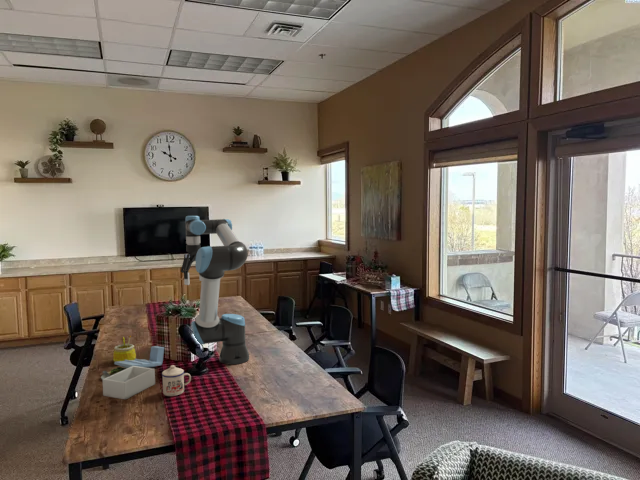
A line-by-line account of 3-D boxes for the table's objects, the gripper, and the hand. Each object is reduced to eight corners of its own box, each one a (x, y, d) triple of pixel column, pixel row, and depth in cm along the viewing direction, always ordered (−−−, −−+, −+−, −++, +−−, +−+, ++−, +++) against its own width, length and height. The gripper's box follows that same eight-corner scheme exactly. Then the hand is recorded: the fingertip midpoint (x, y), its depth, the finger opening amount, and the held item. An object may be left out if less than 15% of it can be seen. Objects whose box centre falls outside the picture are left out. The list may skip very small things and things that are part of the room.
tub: (155, 384, 218) (154, 368, 217) (125, 399, 201) (124, 382, 201) (133, 380, 222) (133, 365, 222) (103, 395, 206) (102, 379, 205)
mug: (128, 365, 243) (127, 342, 242) (108, 364, 245) (107, 341, 245) (142, 357, 256) (141, 335, 255) (123, 356, 258) (122, 334, 257)
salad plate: (88, 380, 224) (88, 370, 224) (119, 368, 241) (119, 359, 240) (119, 386, 216) (118, 376, 216) (149, 373, 232) (148, 364, 232)
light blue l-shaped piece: (167, 366, 244) (169, 348, 245) (131, 369, 225) (134, 350, 226) (150, 362, 249) (152, 345, 250) (114, 366, 230) (116, 347, 231)
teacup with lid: (164, 398, 202) (163, 370, 201) (160, 390, 210) (159, 364, 209) (193, 392, 208) (192, 365, 207) (188, 385, 216) (187, 359, 215)
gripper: (201, 242, 279) (202, 278, 280) (173, 246, 255) (174, 286, 257) (212, 242, 276) (213, 279, 278) (184, 246, 253) (186, 286, 255)
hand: (194, 282), depth 267 cm, fingers open, 13 cm apart
